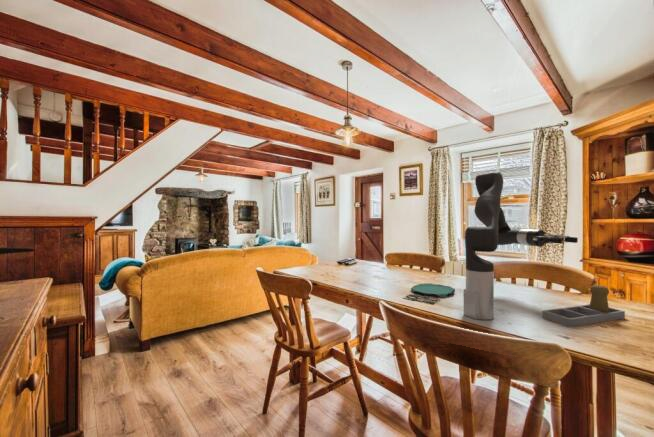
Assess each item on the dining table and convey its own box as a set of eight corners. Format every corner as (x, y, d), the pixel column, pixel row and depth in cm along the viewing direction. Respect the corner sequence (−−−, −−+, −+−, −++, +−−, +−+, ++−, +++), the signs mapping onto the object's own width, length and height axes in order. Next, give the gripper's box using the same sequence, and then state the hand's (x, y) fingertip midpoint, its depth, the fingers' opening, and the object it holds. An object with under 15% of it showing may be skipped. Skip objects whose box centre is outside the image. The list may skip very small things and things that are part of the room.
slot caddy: (570, 326, 98) (570, 319, 98) (542, 317, 107) (542, 310, 107) (624, 318, 106) (624, 311, 106) (593, 309, 115) (594, 303, 115)
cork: (614, 318, 106) (614, 288, 106) (595, 317, 107) (595, 287, 107) (602, 313, 112) (602, 284, 111) (584, 312, 113) (584, 283, 113)
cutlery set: (460, 291, 145) (460, 286, 145) (438, 307, 122) (438, 301, 122) (421, 285, 158) (421, 281, 158) (395, 299, 135) (394, 294, 135)
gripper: (519, 229, 132) (556, 231, 117) (543, 229, 136) (582, 230, 121) (519, 246, 132) (556, 250, 117) (542, 245, 137) (581, 249, 121)
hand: (569, 240), depth 119 cm, fingers open, 8 cm apart
